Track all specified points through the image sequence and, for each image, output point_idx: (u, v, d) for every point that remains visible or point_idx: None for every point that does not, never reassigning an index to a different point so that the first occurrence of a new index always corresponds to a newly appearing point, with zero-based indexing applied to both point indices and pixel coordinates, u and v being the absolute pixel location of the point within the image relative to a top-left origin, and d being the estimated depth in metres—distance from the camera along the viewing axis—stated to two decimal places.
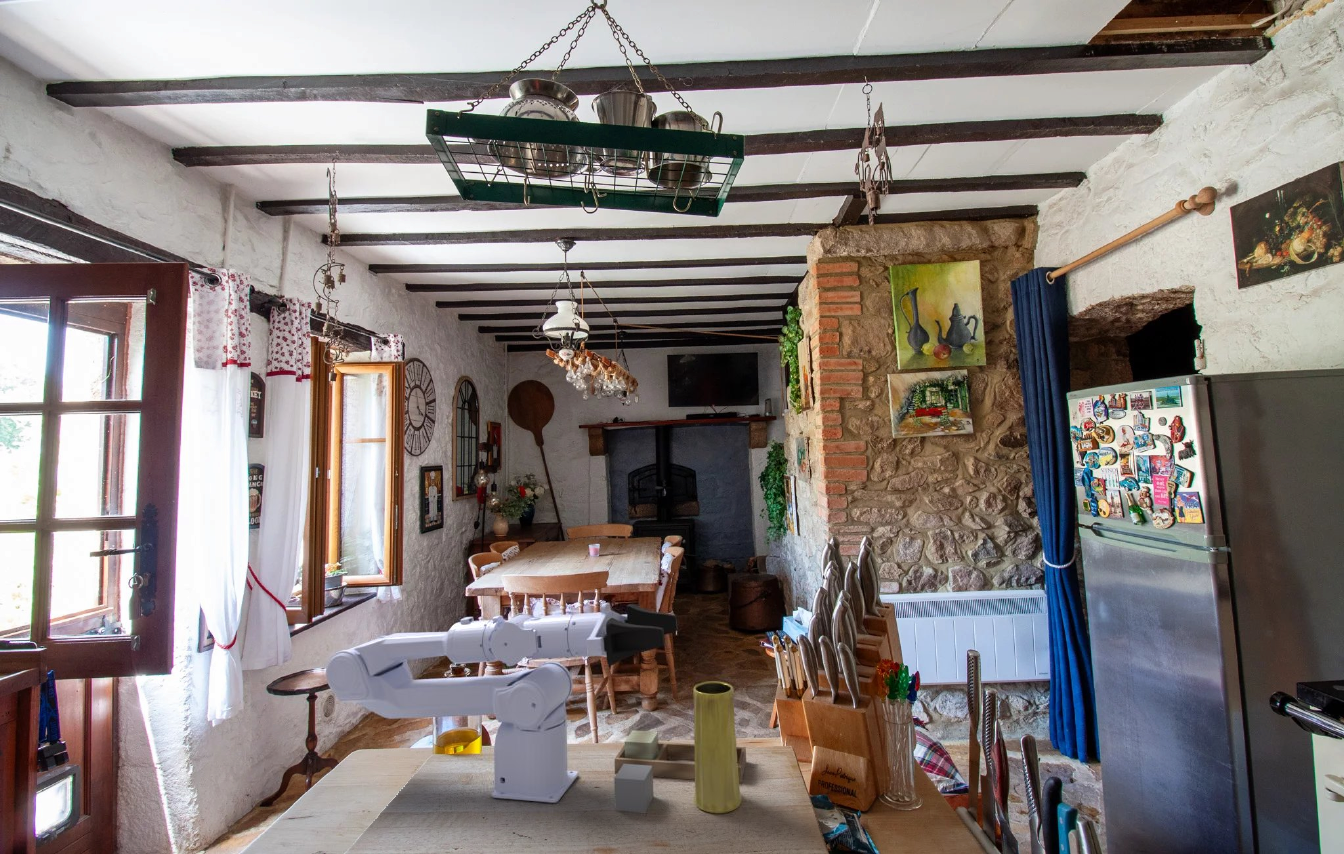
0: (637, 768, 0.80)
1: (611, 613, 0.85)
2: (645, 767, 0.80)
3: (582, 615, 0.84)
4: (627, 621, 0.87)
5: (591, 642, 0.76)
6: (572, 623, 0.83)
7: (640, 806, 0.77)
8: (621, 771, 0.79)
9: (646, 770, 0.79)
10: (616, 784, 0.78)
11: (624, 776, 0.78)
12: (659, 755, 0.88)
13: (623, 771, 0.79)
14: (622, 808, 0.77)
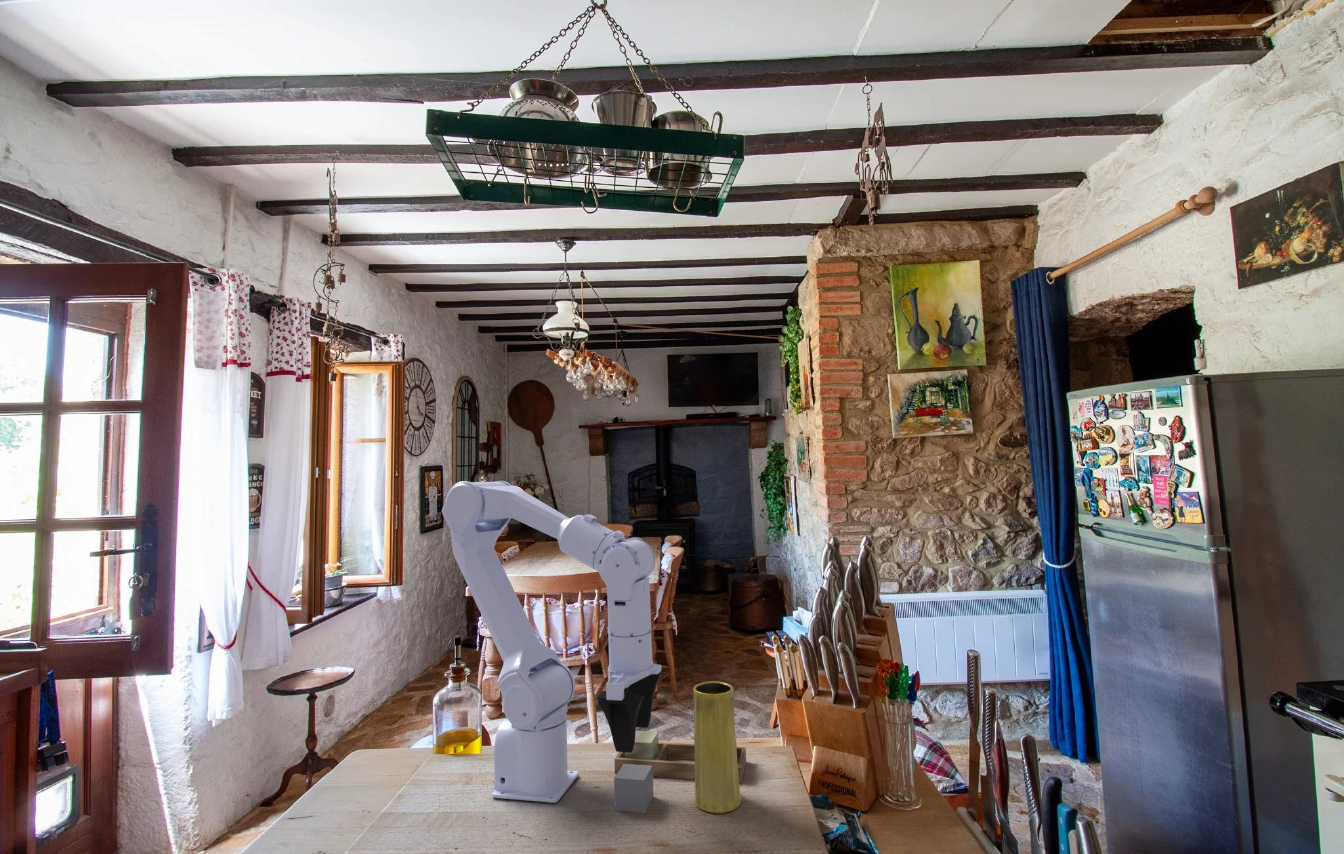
0: (637, 768, 0.80)
1: None
2: (645, 767, 0.80)
3: (648, 644, 0.79)
4: None
5: (618, 689, 0.73)
6: (640, 639, 0.79)
7: (640, 806, 0.77)
8: (621, 771, 0.79)
9: (646, 770, 0.79)
10: (616, 784, 0.78)
11: (624, 776, 0.78)
12: (659, 755, 0.88)
13: (623, 771, 0.79)
14: (622, 808, 0.77)
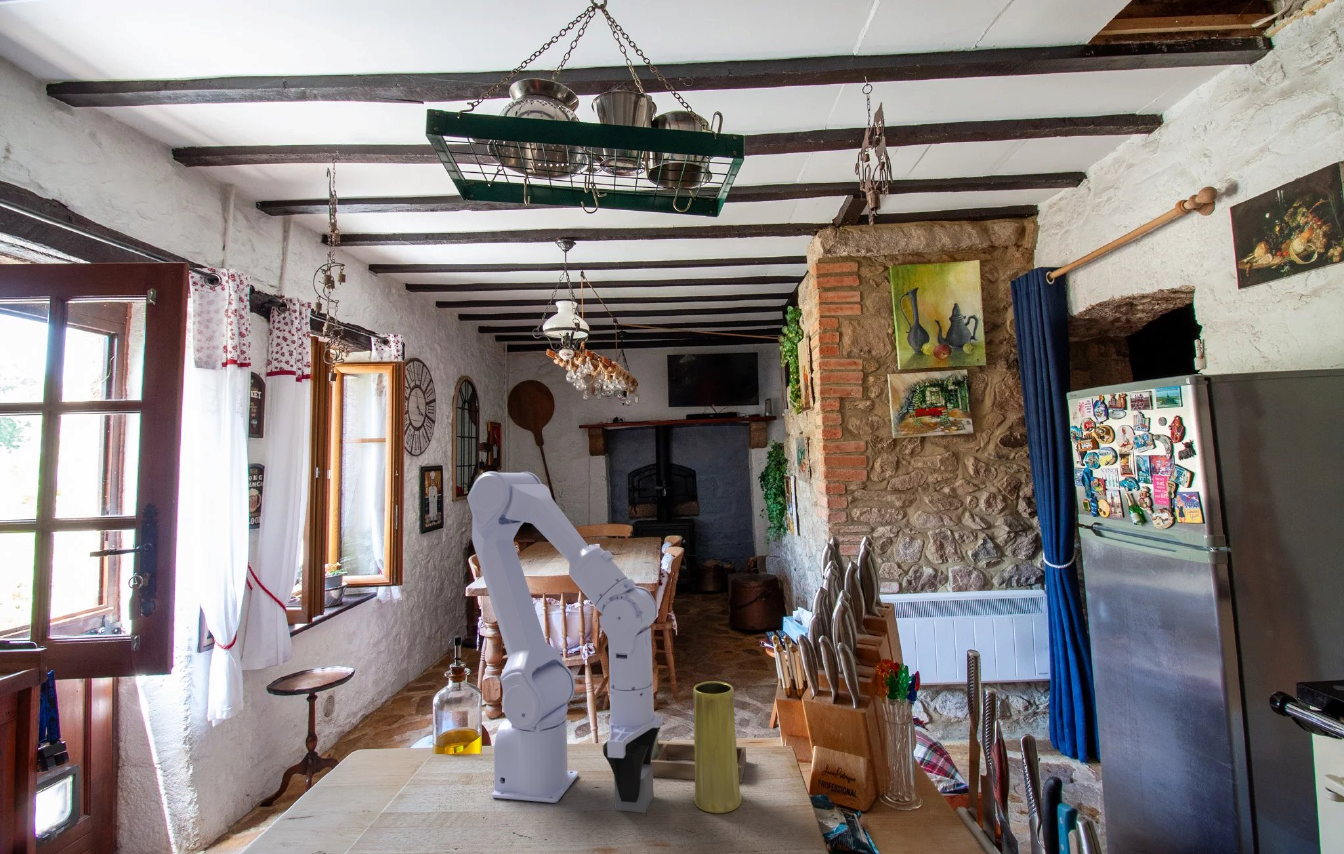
0: None
1: None
2: (645, 766, 0.80)
3: (650, 697, 0.79)
4: None
5: (620, 747, 0.73)
6: (642, 692, 0.78)
7: (640, 805, 0.77)
8: None
9: (646, 769, 0.79)
10: None
11: None
12: (659, 755, 0.88)
13: None
14: (622, 807, 0.77)
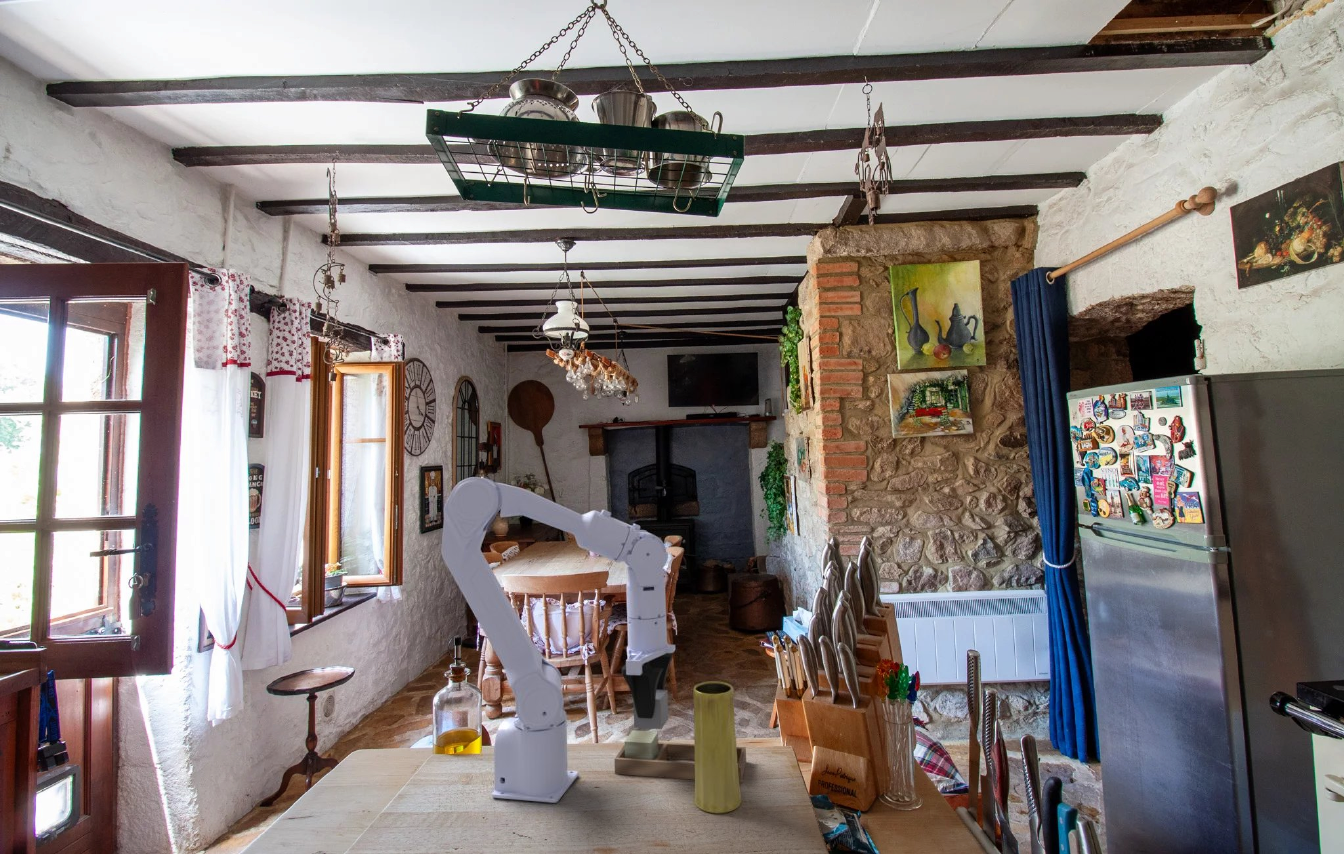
0: None
1: None
2: (661, 691, 0.89)
3: (663, 626, 0.88)
4: None
5: (637, 665, 0.81)
6: (656, 621, 0.87)
7: (656, 723, 0.85)
8: None
9: (662, 693, 0.88)
10: None
11: None
12: (659, 755, 0.88)
13: None
14: (640, 725, 0.86)
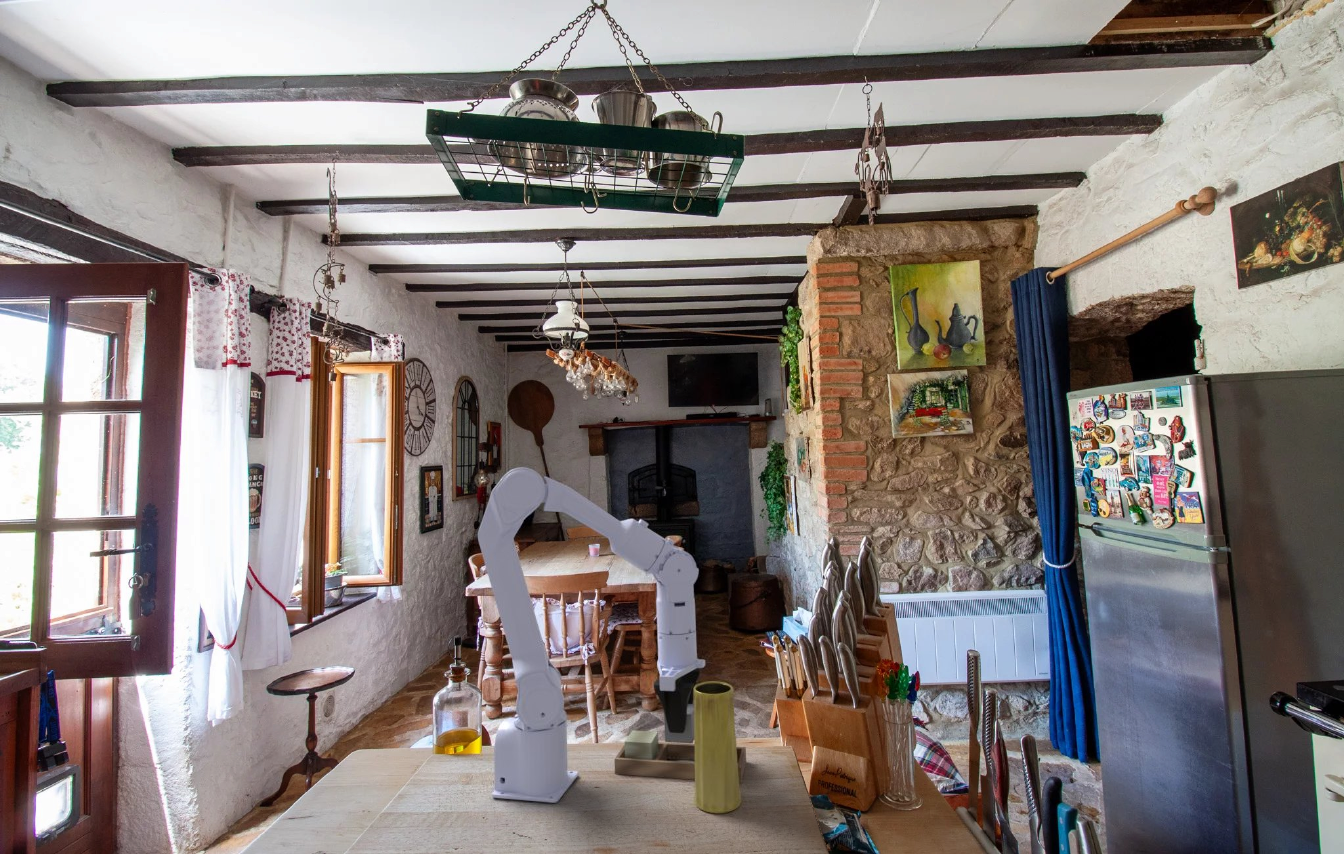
0: None
1: None
2: (690, 705, 0.90)
3: (694, 641, 0.89)
4: None
5: (671, 681, 0.82)
6: (687, 636, 0.88)
7: (687, 737, 0.86)
8: None
9: (691, 707, 0.89)
10: None
11: None
12: (659, 755, 0.88)
13: None
14: (671, 739, 0.87)
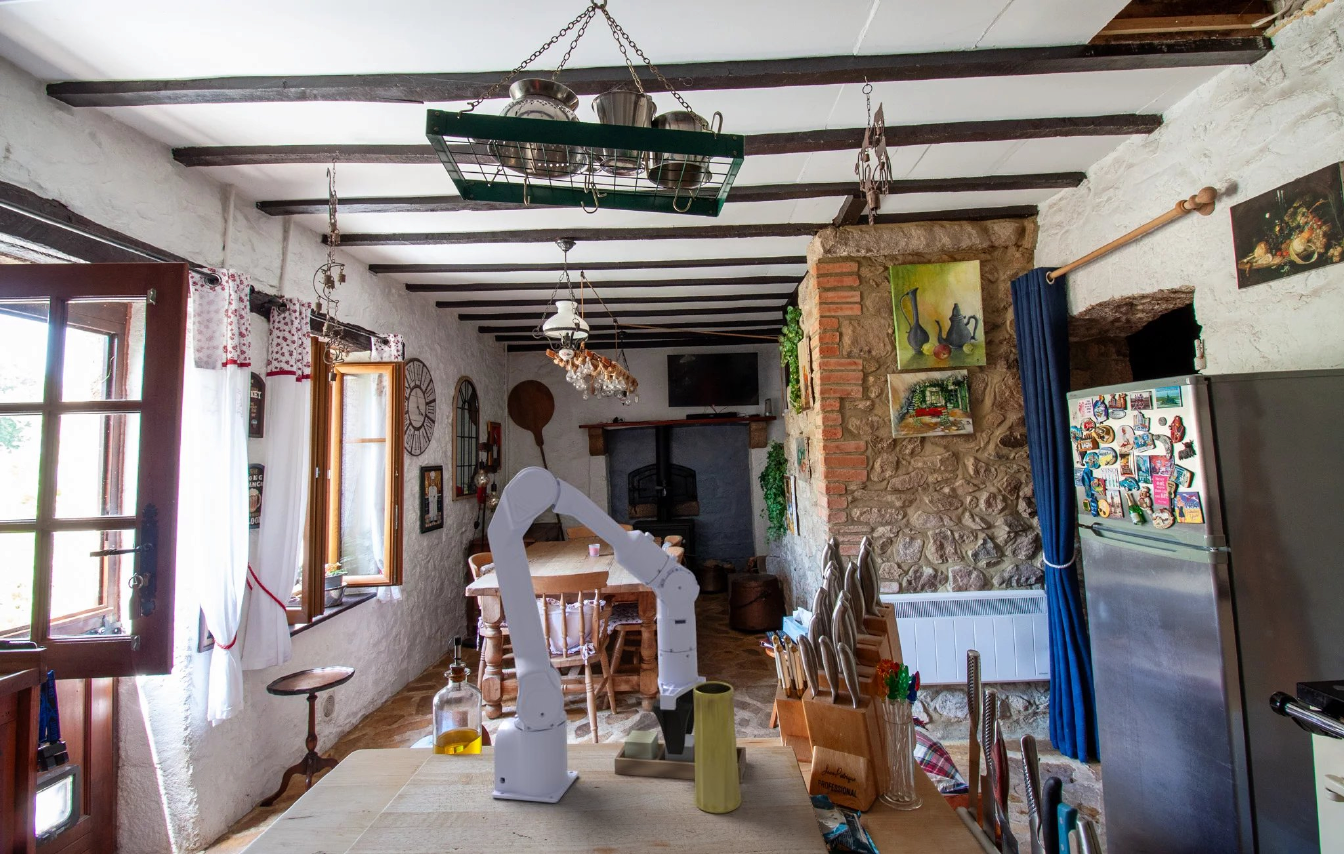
0: None
1: None
2: (691, 736, 0.90)
3: (694, 659, 0.88)
4: None
5: (671, 700, 0.82)
6: (687, 654, 0.87)
7: None
8: None
9: (692, 738, 0.89)
10: (666, 750, 0.87)
11: None
12: (659, 755, 0.88)
13: None
14: None
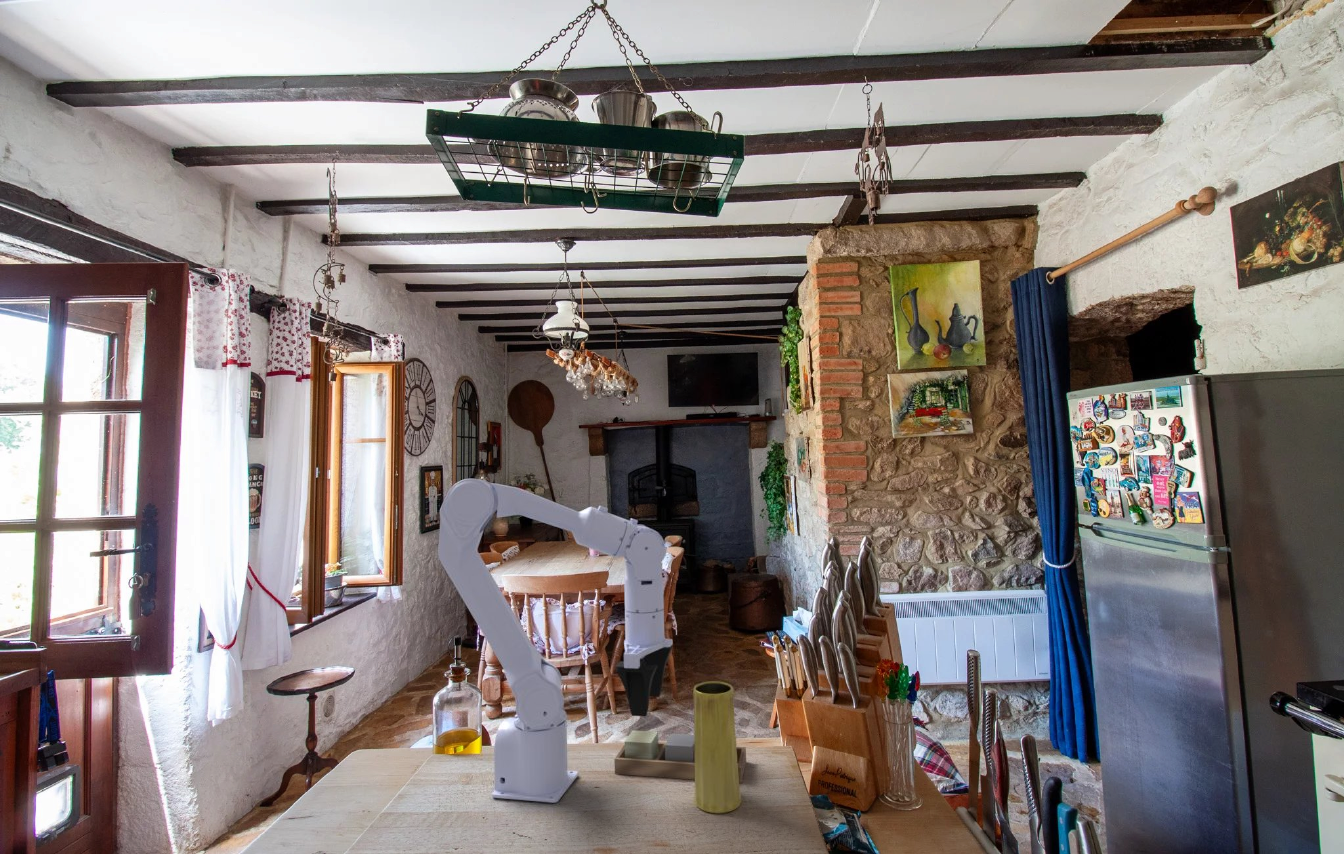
0: (684, 737, 0.89)
1: None
2: (691, 736, 0.90)
3: (661, 620, 0.88)
4: None
5: (635, 659, 0.81)
6: (654, 615, 0.87)
7: None
8: (670, 739, 0.89)
9: (692, 738, 0.89)
10: (666, 750, 0.87)
11: (673, 743, 0.87)
12: (659, 755, 0.88)
13: (672, 739, 0.89)
14: None
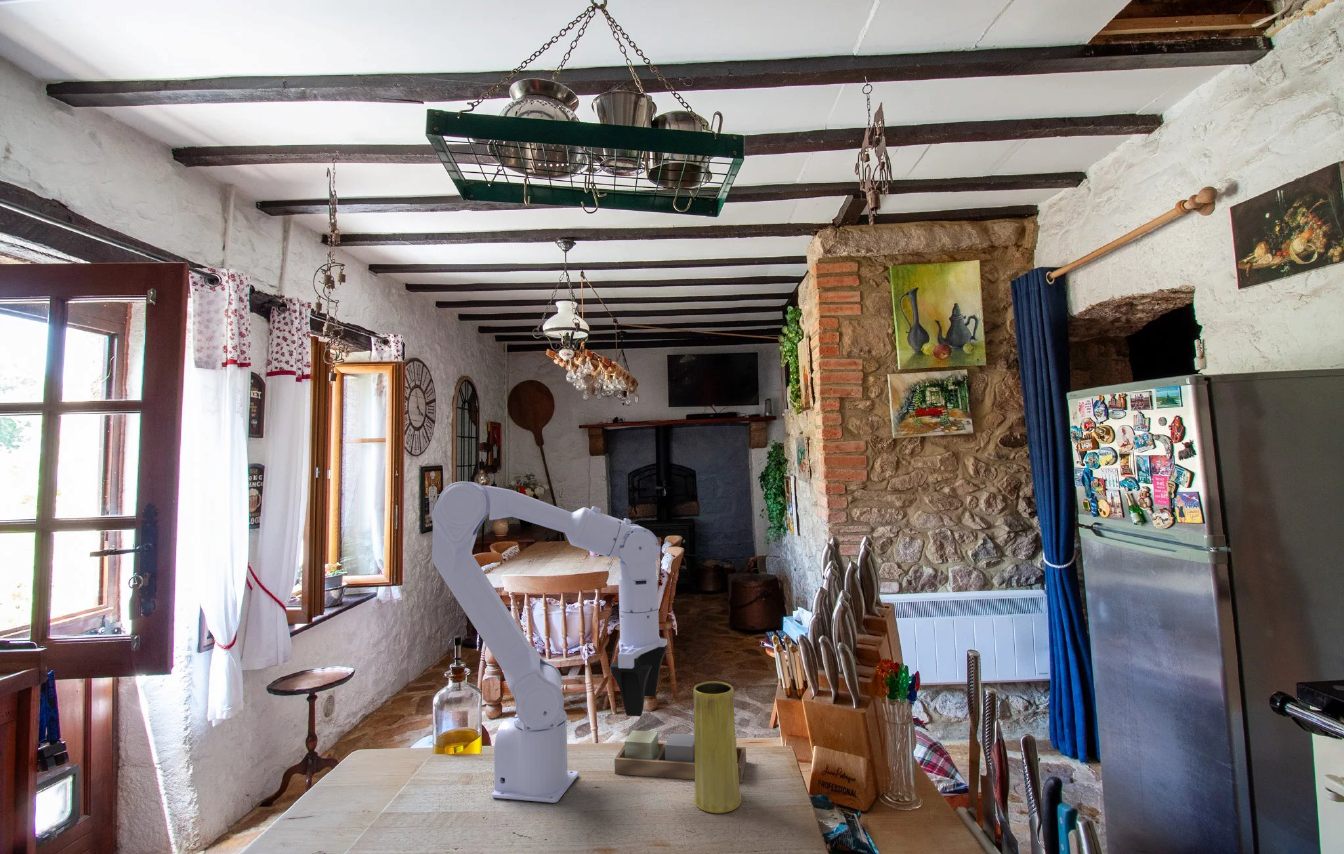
0: (684, 737, 0.89)
1: None
2: (691, 736, 0.90)
3: (656, 620, 0.88)
4: None
5: (629, 659, 0.81)
6: (648, 614, 0.87)
7: None
8: (670, 739, 0.89)
9: (692, 738, 0.89)
10: (666, 750, 0.87)
11: (673, 743, 0.87)
12: (659, 755, 0.88)
13: (672, 739, 0.89)
14: None
